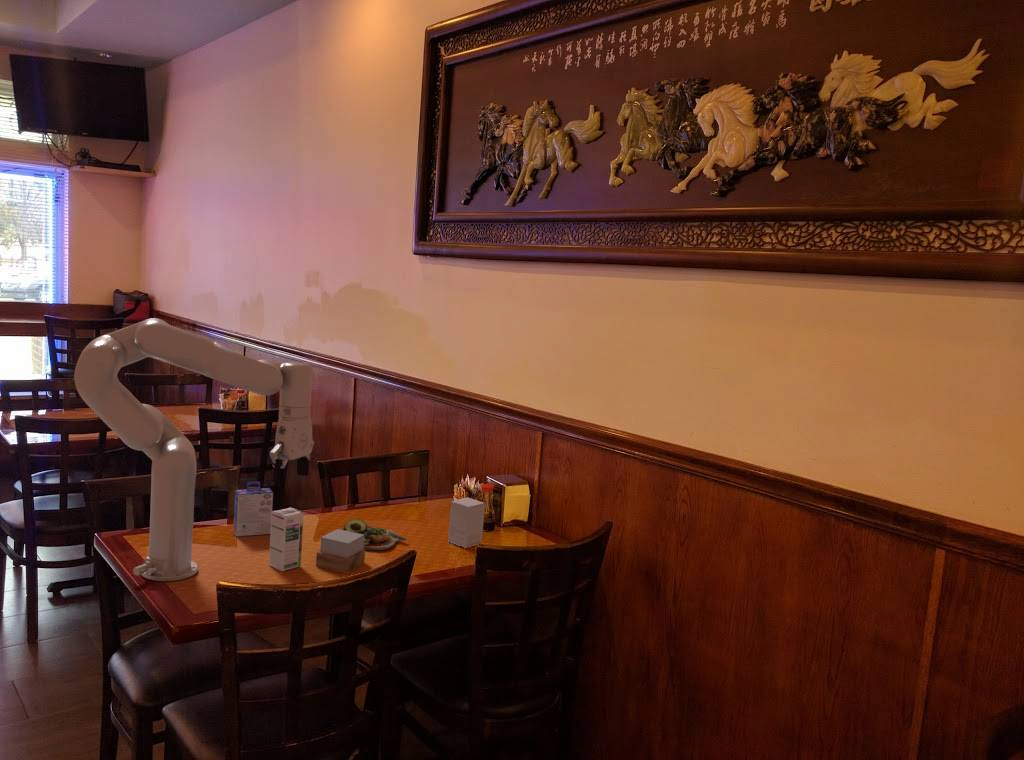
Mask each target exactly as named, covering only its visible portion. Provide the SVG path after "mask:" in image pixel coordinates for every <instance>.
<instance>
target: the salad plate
mask: <svg viewBox="0 0 1024 760" xmlns="http://www.w3.org/2000/svg"><path fill="white" fill-rule="evenodd" d="M342 530H345V531H350V532H354V533H359V534H363V535H364V545H363V549H365V551H367V550H368V551H384V549H385V550H388V548H389V549H390V547H391V548H392V547H393V546H394V545H395V544H396V543H397V542H400V541H407V538H406V537H404V536H401V535H398V534H397V532H395V531H393V530H391V529H387V528H382V527H380V526H378V527H372V526H370V525H367V523H366V522H365V521H364V520H363V519H360V518H359V519H358V518H353V519H350V520H348V521H347V522H345V524H344V525H343V529H342ZM373 543H374V544H373ZM375 543H376V544H375ZM381 544H383V546H382V545H381ZM369 545H376V546H369ZM378 545H380V546H378Z"/></svg>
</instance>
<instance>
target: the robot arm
mask: <svg viewBox="0 0 1024 760" xmlns="http://www.w3.org/2000/svg"><path fill="white" fill-rule="evenodd" d="M147 358H151V359H154V360H158V361H160V362H163V363H166V364H170V365H173V366H176V367H179V368H182V369H185V370H188V371H192V372H193V373H197V374H199V375H203V376H205V377H207V378H210V379H212V380H216V381H219V382H222V383H224V384H226V385H229V386H232V387H236V388H238V389H241V390H245V391H248V392H250V393H253V394H257V395H260V396H272V395H274V394H276V393H278V392H279V404H278V420H277V426H276V431H275V438H274V439H275V440H274V447H273V448H272V449H271V450H270V452H269V457H270V463H271V464H272V467H273V480H272V481H273V483H274V484H280V485H285V484H286V483H287V481H286V480H287V468H286V465H287V463H288V462H289V460H290V461H295V460H296V462H297V463H296V475H299V476H305V477H307V476H309V472H310V471H309V468H310V461H311V455H312V454H313V447H314V446H315V440H313V422H312V417H311V408H312V407H311V404H312V390H313V389H312V388H313V366H312V365H310V364H309V363H306V362H302V361H301V362H300V361H287V362H283V361H278V360H277V361H276V360H270V359H259V360H256V359H253V358H251V357H249V356H245V355H242V354H240V353H238V352H237V351H233V350H232V349H230V348H228V347H226V346H225V345H223V344H222V343H220V342H219V341H216V340H214V339H212V338H210V337H206V336H202V335H200V334H197V333H193V332H191V331H188V330H184V329H183V328H179V327H177V326H173V325H170V324H169V323H168V322H166V321H165V320H163V319H162V318H157V317H153V318H151V317H150V318H147V319H144V320H142V321H138V322H137V323H134V324H130V325H128V326H126V327H123V328H120V329H117V330H114V331H112V332H108V333H106V334H103V335H101V336H98V337H95V338H94V339H92V340H91V341H90V342H89V343H88V344H87V345H86V346H85V347H84V348H83V350H82V351H81V354H79V357H78V360H77V362H76V365H75V369H74V373H73V374H74V375H73V376H74V384H75V388H76V391H77V393H78V394H79V397H80V398H81V399H82V401H83V402H84V403H85V404H86V405H87V406H88V408H90V410H92V411H93V412H94V413H95V414H96V416H97V417H99V419H100V420H101V421H102V422H103V423H104V424H105V425H106V426H107V427H108V428H110V430H111V431H113V433H115V435H116V436H117V437H118V438H120V439H119V440H121V441H122V442H123V443H124V444H125V445H126V446H127V447H129V448H130V449H132V450H135V451H141V452H143V453H144V454H145V455H146V456H147V457H148V458H149V459H150V460H151V462H152V463H151V474H150V475H151V480H150V481H151V484H150V508H149V509H150V513H149V514H150V515H149V516H150V517H149V540H148V556H147V557H145V562H143V563H142V564H141V565H138V566H136V567H133V570H132V573H133V574H134V575H135V576H139V575H141V576H142V577H143V578H145V579H147V580H151V581H154V582H155V581H156V582H175V581H180V580H185V579H188V578H190V577H193V576H194V575H195V574H196V573H197V572H198V569H199V565H198V564H197V563H196V562H195V561H193V560H192V552H193V531H194V514H195V513H194V508H195V488H196V479H197V478H196V477H197V456H196V450H195V448H194V445H193V444H192V442H191V441H190V440H189V439H188V438H187V437H186V435H184V434H183V433H182V432H181V430H180V429H178V427H177V426H176V425H174V424H173V422H172V421H171V420H170V419H168V417H167V416H166V415H165V414H164V413H162V411H160V410H159V408H157V407H155V406H153V405H150V404H146V403H142V402H140V401H139V399H137V398H136V397H135V396H134V395H133V393H132V392H131V391H130V390H129V389H128V388H126V386H125V385H123V384H122V383H121V382H120V380H119V377H118V374H119V372H120V370H121V369H122V368H124V367H126V366H128V365H132V364H133V363H134V364H135V363H137V362H139V361H141V360H144V359H147ZM281 460H282V461H281Z"/></svg>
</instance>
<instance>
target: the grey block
mask: <svg viewBox="0 0 1024 760" xmlns="http://www.w3.org/2000/svg"><path fill="white" fill-rule="evenodd" d="M363 545H364V535H363V534H359V533H354V532H350V531H345V530H343V529H340V528H337V529H335V530H333V531H331V532H329V533H327V534H325V535H323V536H321V537H320V550H319V551H320V552H322V553H326V554H330V555H335V556H339V557H343V558H349V557H351V556H352V555H354V554H356V553H358V552H359V551H361V550H363Z"/></svg>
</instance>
